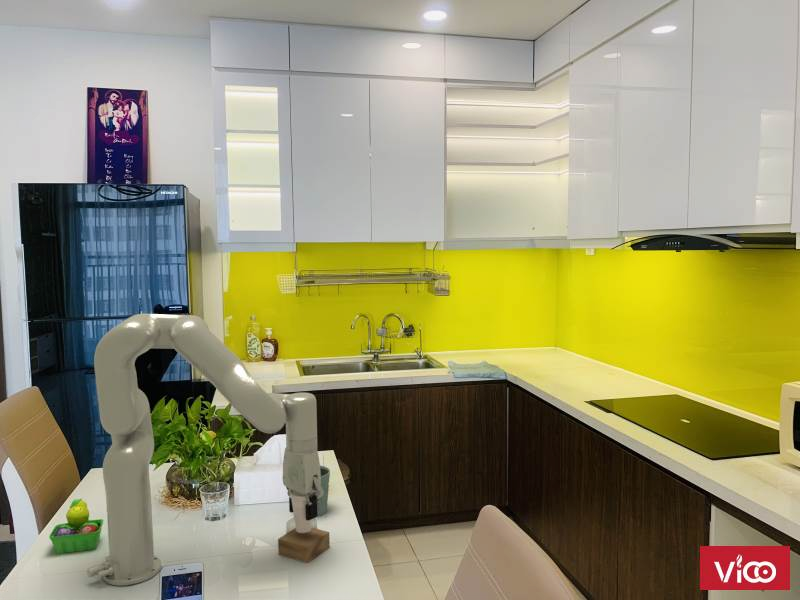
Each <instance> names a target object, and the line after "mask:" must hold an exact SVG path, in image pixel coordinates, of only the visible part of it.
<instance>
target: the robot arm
mask: <svg viewBox="0 0 800 600" xmlns="http://www.w3.org/2000/svg"><path fill="white" fill-rule="evenodd" d="M150 349H163V350H164V349H171V350H173V349H174V350H175V351H176V352H177V353H178V355H179V356H181V357H182V358H183V359H184V360H185V361H186V362H187V363H189V364H190V365H191V367H193V368H194V369H195V370H196V371H198V372H199V373H200V374H201V375H202V376H203V378H205V379H206V380H207V381H209V383H211V384H212V385H213V386H214V387H215V388H216V390H217V392H219V393H220V395H221V396H223V397H224V398H225V400H226V401H228V403H229V404H230V405H231V406H232V407H233V408H234V409H235V410H236V411H237V413H239V414H240V415H241V416H242V417H243V419H245V420H246V421H247V422H249V423H250V424H251V425H252V426H253V427H255V429H257V430H258V431H260V432H261V433H262V432H263V433H265V434H274V433H277V432H279V431H281V430H282V428H283V427H284V426H285V436H286V437H285V438H286V439H285V441H286V443H285V444H286V446H285V448H284V453H283V461H282V483H283V485H284V486H285V488H286V490H287V496H288V504H289V505H288V507H289V509H288V510H289V511H288V512H289V513H291V514H292V513H293V507H292V500H291V498H290V492H291V491H292V490H294V491H296V492H299V493H301V494H304V495H305V496H306V500H307V504H306V506H305V508H306V520H307V521H309V520H311V519H314V518H315V519H316V518H318V517H317V516H318V514H317V502H319V499H320V498H321V497H322V496H323V495H324V491H323V489H322V487H321V472H320V466H321V464H320V457H319V451H318V419H317V417H318V416H317V415H318V414H317V411H318V410H317V399H316V396H315V395H314V394H313V393H310V392H294V393H279V392H278V393H277V392H266V390H264V389H263V388H262V387H261V386H260V385H259V384H258V382H257V381H256V380H255V379H254V378H253V377H252V375H251V374H250V372H249V371H248V369H247V367H246V365H245V364H244V362H243V361H242V360H241V359H240V357H239V356H238V355H236V354H235V353H234V352H233V351H232V350H231V349H230V348H229V347H227V345H225V344H224V343H223V342H222V340H220V339H219V338H218V337H217V336H216V335H215V334H214V333H213V332H212V331H211V330H210V329H209V326H208V324H207V322H206V321H205V320H204V319H202V318H201V317H199V316H197V315H191V314H165V313H163V314H161V313H160V314H159V313H137V314H134V315H132V316H129V317H127V318H126V319H124V320H123V321H122V322H120V323H118V324H117V325H115V326H114V327H112V328H111V329H110V330H109V331H107V332H106V333H105V334H104V335H103V336H102V338H101V339H99V342H98V344H97V345H96V348H95V350H94V357H93V358H94V359H93V363H94V364H93V366H94V375H95V383H96V394H97V401H98V411H99V420H100V424H101V426H102V428H103V429H104V431H105V432H106V433H108V434H109V435H110V437H111V445H110V446H109V449H108V450H107V452H106V454H105V455H104V459H103V463H102V479H103V484H104V490H105V499H106V500H105V501H106V514H107V533H108V534H107V536H108V551H109V552H108V555H107V556H105V557H104V561H103V562H101V564H99V565H95V566H92V567H89V568H87V570H86V572H87V577H88V578H92V577H95V576H97V578H98V579H101V578H102V580H103V581H104V582H105V583H107V584H109V585H112V586H131V585H136V584H139V583H143V582H145V581H148V580H149V579H152V577H154V576H156V575H157V574H158V573H159V572H160V571H161V568H162V561H161V559H160V558H159V557H158V556H155V550H154V529H153V528H154V527H153V509H152V508H153V507H152V492H151V482H150V479H151V478H150V463H151V461H152V458H153V455H154V451H155V440H154V432H153V431H154V430H153V424H152V417H151V416H152V415H151V408H150V402H149V399H148V397H147V395H146V394H145V392H143V390H141V389H140V388H139V386H138V377H137V370H136V366H135V363H136V360H137V358H138V357H139V356H141V355H142V354H144V353H146V352H148V351H149V350H150ZM311 489H312V490H311ZM310 493H313V496H312V498H311V497H310Z"/></svg>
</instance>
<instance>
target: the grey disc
mask: <svg viewBox="0 0 800 600" xmlns="http://www.w3.org/2000/svg"><path fill="white" fill-rule="evenodd" d="M285 526H286V527H285V528H286V530H285V532H286V533H285V534H287V533H288V532H290V531H291V530H293V529H295V528H296V526H295V520H294V517H292V518H290V519H288V520H287V521H286V523H285ZM311 527H312V528H315V529H318V528H317V527H318V522H317V519H316V518H314V519H312V526H311Z"/></svg>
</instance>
